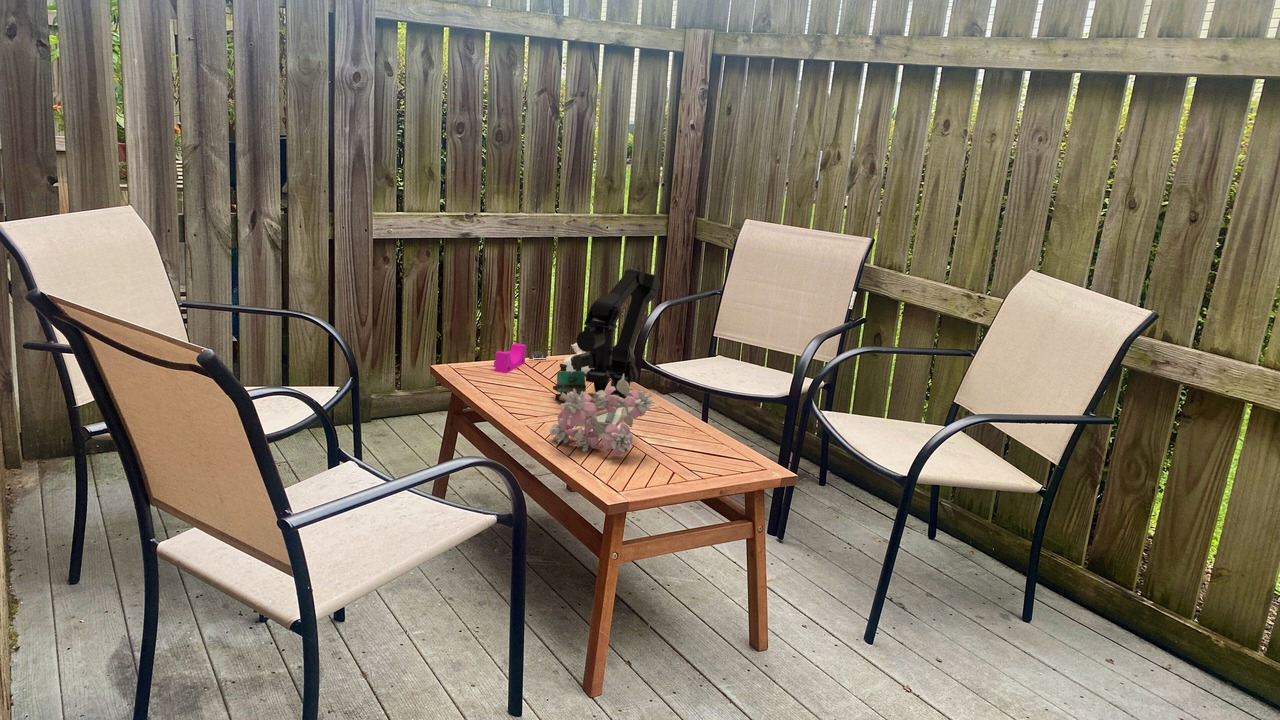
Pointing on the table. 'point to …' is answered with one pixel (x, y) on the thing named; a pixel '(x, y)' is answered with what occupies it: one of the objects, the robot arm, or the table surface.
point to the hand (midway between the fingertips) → (598, 399)
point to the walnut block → (596, 402)
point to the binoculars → (569, 381)
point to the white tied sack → (568, 361)
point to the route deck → (606, 419)
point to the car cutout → (537, 356)
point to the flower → (587, 415)
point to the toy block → (510, 358)
